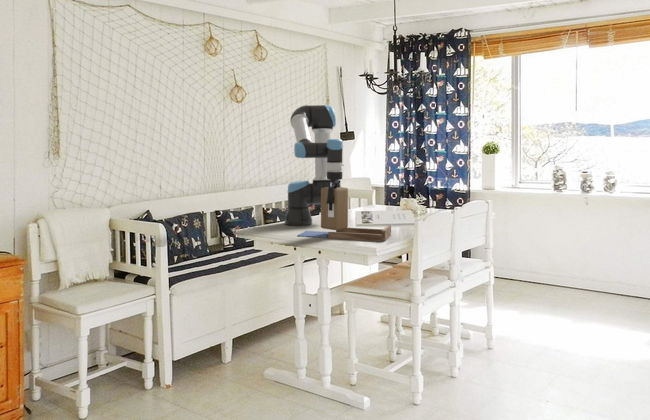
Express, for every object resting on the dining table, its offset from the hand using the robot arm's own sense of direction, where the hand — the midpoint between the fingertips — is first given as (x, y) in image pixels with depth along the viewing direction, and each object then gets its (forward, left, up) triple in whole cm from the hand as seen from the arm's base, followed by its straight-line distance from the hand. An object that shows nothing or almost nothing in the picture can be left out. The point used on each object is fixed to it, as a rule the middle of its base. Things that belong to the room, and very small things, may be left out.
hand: (334, 215), depth 312 cm
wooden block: (0, 0, -7) cm, 7 cm away
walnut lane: (0, +12, -10) cm, 16 cm away
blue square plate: (0, -10, -10) cm, 14 cm away
